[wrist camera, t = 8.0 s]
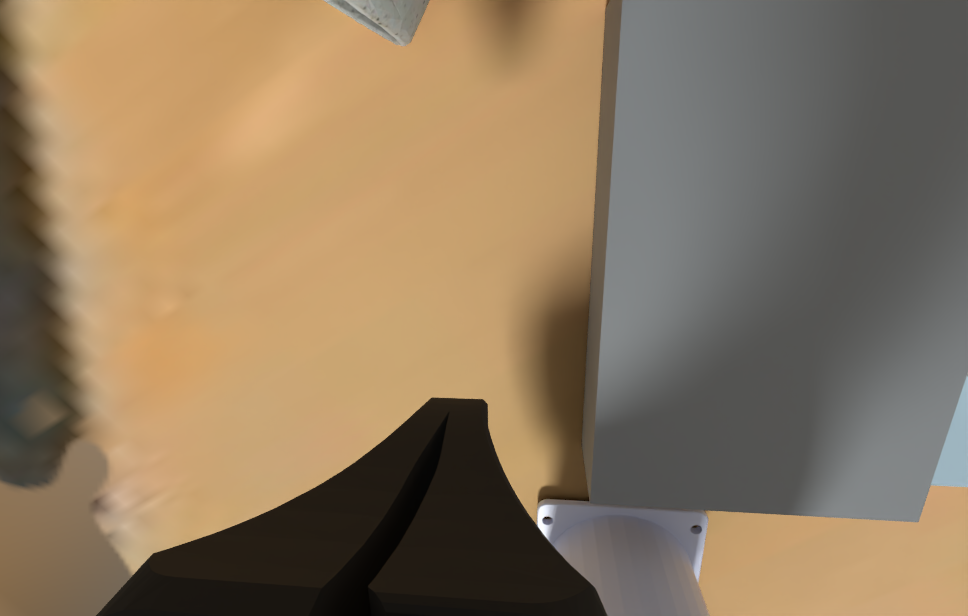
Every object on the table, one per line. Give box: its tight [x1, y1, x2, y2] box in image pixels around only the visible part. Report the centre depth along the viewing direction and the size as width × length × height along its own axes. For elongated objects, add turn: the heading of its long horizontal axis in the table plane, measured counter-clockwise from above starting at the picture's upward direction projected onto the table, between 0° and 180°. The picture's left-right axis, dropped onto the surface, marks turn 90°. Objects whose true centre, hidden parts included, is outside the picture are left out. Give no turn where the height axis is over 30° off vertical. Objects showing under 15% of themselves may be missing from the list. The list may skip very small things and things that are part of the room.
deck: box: [582, 0, 968, 522], centre depth 18 cm, size 18×12×4 cm, turn 1°
